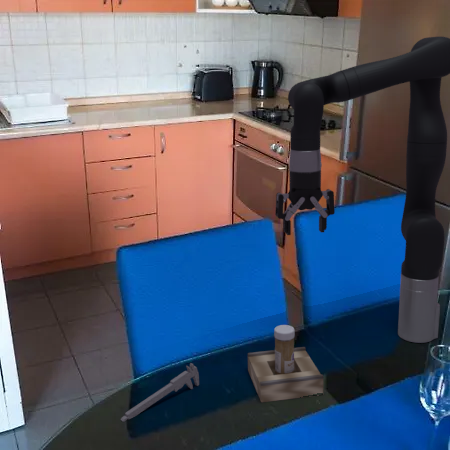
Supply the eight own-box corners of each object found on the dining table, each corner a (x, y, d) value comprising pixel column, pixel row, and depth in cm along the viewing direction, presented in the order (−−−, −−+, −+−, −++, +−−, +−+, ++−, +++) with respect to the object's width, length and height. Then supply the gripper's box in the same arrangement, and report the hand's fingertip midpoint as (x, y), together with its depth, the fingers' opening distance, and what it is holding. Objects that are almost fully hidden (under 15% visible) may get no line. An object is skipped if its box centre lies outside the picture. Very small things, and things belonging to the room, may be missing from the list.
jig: (304, 363, 144) (304, 346, 142) (323, 394, 130) (323, 376, 129) (248, 370, 142) (247, 353, 140) (261, 402, 128) (260, 383, 127)
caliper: (196, 385, 137) (195, 360, 135) (199, 386, 136) (198, 362, 134) (120, 421, 124) (118, 394, 122) (123, 423, 123) (120, 396, 121)
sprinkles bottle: (294, 387, 134) (294, 333, 130) (274, 386, 134) (273, 332, 130) (294, 377, 138) (294, 324, 134) (274, 376, 138) (274, 323, 135)
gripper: (328, 163, 146) (327, 226, 150) (272, 167, 144) (273, 231, 148) (339, 168, 139) (337, 235, 143) (280, 172, 136) (280, 239, 141)
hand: (304, 233), depth 145 cm, fingers open, 8 cm apart
